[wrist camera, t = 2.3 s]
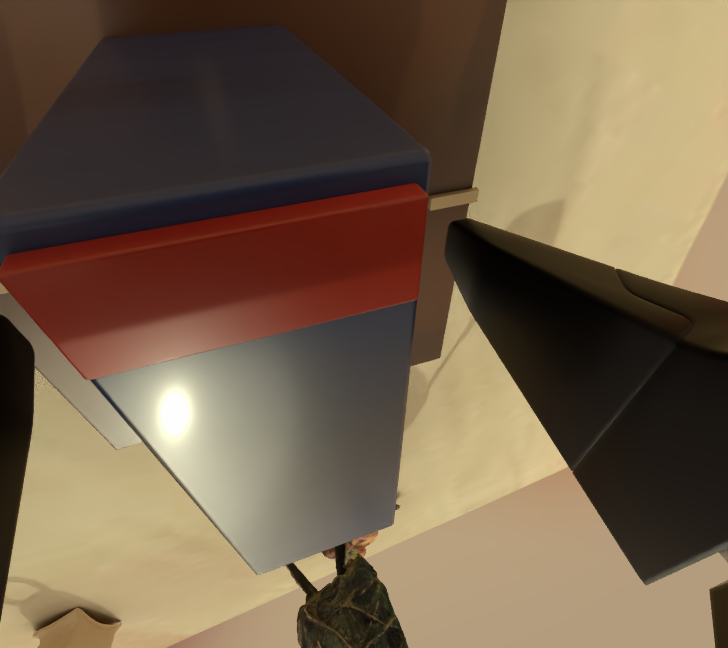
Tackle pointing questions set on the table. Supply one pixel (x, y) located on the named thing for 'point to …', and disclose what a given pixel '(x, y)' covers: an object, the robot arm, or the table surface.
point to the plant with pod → (348, 604)
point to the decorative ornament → (76, 632)
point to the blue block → (231, 273)
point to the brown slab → (335, 46)
